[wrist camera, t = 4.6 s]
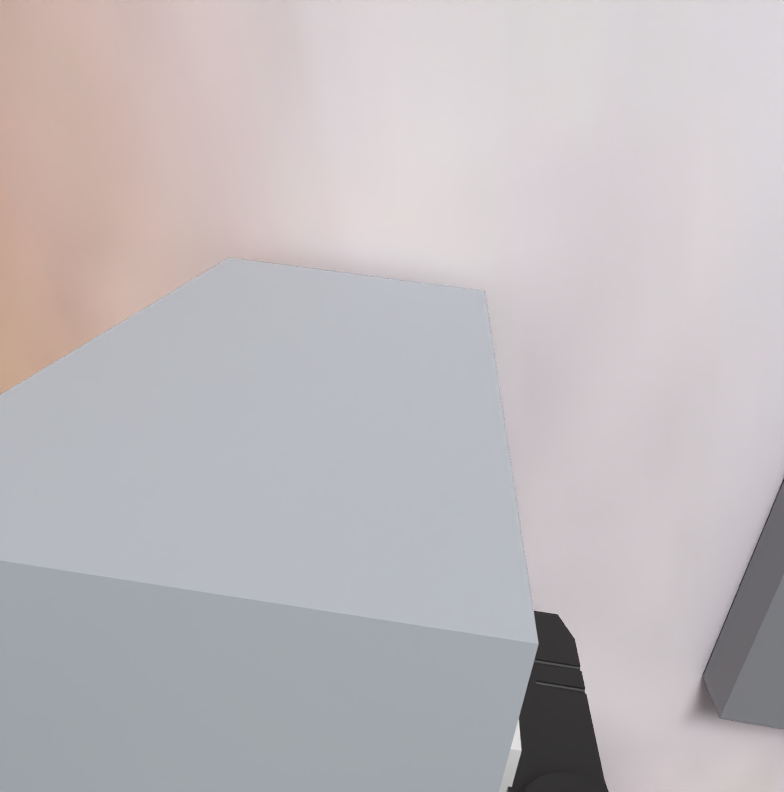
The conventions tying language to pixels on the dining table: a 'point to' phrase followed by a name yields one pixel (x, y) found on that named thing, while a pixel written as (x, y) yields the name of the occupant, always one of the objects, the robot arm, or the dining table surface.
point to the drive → (265, 546)
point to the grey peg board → (754, 637)
